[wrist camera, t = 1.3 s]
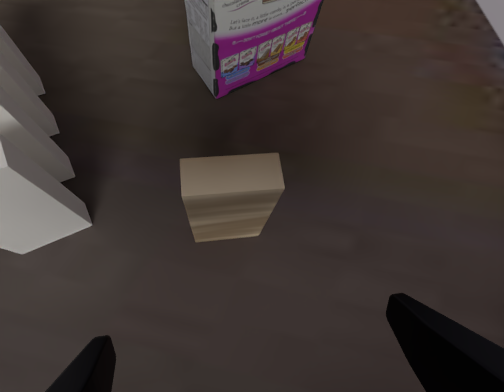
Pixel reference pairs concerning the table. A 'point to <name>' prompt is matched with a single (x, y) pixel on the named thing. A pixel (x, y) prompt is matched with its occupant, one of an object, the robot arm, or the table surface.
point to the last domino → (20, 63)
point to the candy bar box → (247, 38)
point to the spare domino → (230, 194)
